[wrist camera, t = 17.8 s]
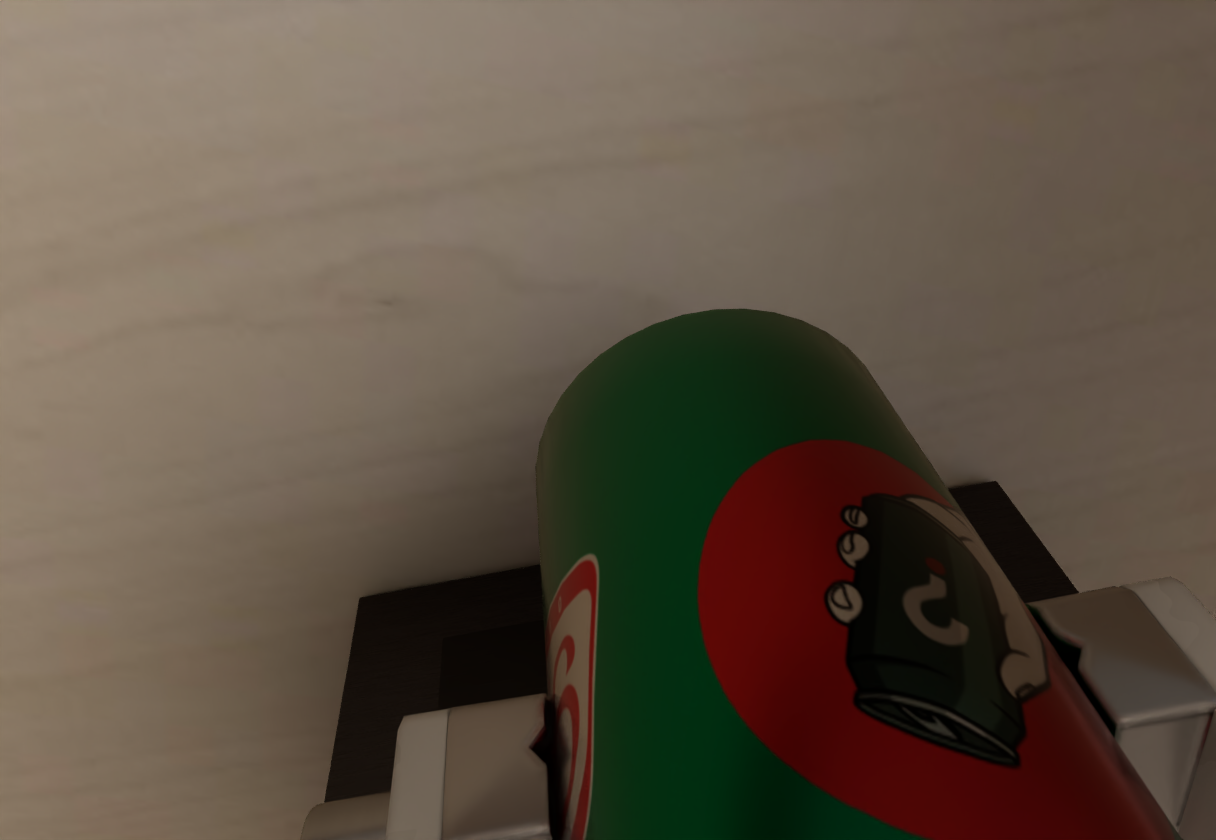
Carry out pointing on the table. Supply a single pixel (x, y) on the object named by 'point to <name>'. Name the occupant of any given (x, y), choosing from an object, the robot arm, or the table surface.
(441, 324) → the table surface
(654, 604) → the soda can
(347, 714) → the oven door
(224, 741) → the table surface
